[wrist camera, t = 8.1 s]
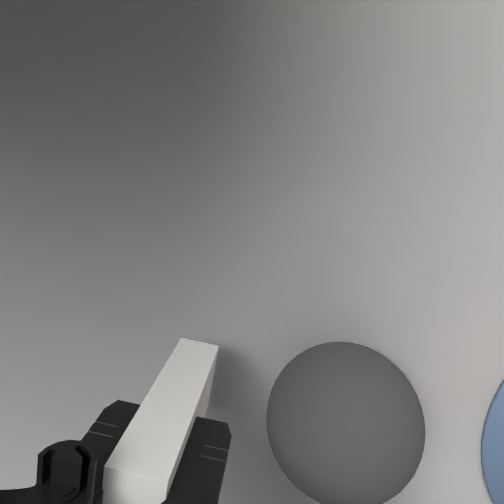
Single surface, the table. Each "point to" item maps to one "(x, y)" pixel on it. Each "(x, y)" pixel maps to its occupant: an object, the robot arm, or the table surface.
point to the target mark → (494, 448)
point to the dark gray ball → (345, 425)
